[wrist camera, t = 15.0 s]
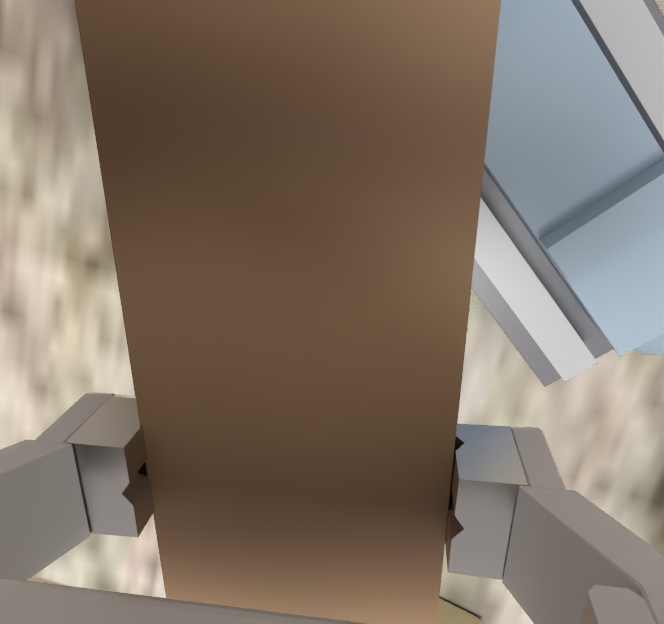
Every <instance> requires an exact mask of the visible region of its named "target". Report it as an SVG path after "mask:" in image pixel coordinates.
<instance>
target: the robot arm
mask: <svg viewBox="0 0 664 624" xmlns="http://www.w3.org/2000/svg"><path fill="white" fill-rule="evenodd" d="M146 459H147V452H146V445H145V439H144V432H143V425H140V423H139V416H138V410H137V403H136V397H135V396H127V395H115V394H108V393H86V394H85V395H84V396H82V397H81V398H80V399H79V400H78V401H77V402H76V403H75V404H74V405H73V406H72V407H70V408H69V409H68V410H67V411H66V412H65V413H64V414H63V415H62V416H61V417H60V418H59V419H57V420H56V421H55V422H54V423H53V424H52V425H51V426H50V427H49V428H48V429H47V430H45V431H44V432H43V433H42V434H41V435H40V436H39V437H38V438H37V439H36V440H24V441H22V442H19V443H17V444H14V445H12V446H9V447H6V448H4V449H1V450H0V624H368V623H360V622H352V621H344V620H336V619H328V618H320V617H313V616H305V615H297V614H289V613H281V612H272V611H264V610H256V609H248V608H240V607H232V606H224V605H216V604H208V603H200V602H192V601H184V600H176V599H167V598H159V597H151V596H143V595H135V594H127V593H119V592H111V591H103V590H95V589H87V588H79V587H71V586H64V585H56V584H47V583H39V582H31V581H27V580H28V579H29V578H31V577H32V576H34V575H35V574H37V573H38V572H40V571H41V570H42V569H44V568H45V567H47V566H48V565H49V564H51V563H52V562H54V561H55V560H57V559H58V558H59V557H61V556H62V555H64V554H65V553H67V552H68V551H69V550H71V549H72V548H74V547H75V546H77V545H78V544H79V543H81V542H82V541H84V540H85V539H87V538H88V537H89V536H90V533H93V534H106V535H118V536H130V537H139V535H140V533H141V532H142V530H143V528H144V527H145V525H146V524H147V522H148V520H149V519H150V517H151V515H152V514H153V512H154V511H155V510H154V502H153V495H152V487H151V480H150V479H149V478H148V475H147V469H146V462H145V461H146ZM445 544H446V555H447V566H448V572H451V573H458V574H465V575H472V576H479V577H486V578H494V579H501V580H503V584H504V585H505V586H506V588H507V589H508V590H509V591H510V593H511V594H512V595H513V597H514V598H515V599H516V601H517V602H518V603H519V604H520V606H521V607H522V608H523V610H524V611H525V612H526V614H527V615H528V616H529V617H530V619H531V620H532V621H533V623H534V624H664V555H662V554H661V553H660V552H658V551H657V550H656V549H654V548H653V547H652V546H650V545H649V544H647V543H646V542H645V541H643V540H642V539H641V538H639V537H638V536H637V535H635V534H634V533H632V532H631V531H630V530H628V529H627V528H626V527H624V526H623V525H622V524H620V523H619V522H617V521H616V520H615V519H613V518H612V517H611V516H609V515H608V514H607V513H605V512H604V511H602V510H601V509H600V508H598V507H597V506H596V505H594V504H593V503H592V502H590V501H589V500H587V499H586V498H585V497H583V496H582V495H581V494H579V493H578V492H577V491H573V490H566V488H565V485H564V483H563V480H562V478H561V476H560V473H559V471H558V468H557V466H556V463H555V461H554V458H553V456H552V453H551V451H550V448H549V446H548V444H547V441H546V439H545V436H544V434H543V431H542V430H541V429H539V428H531V427H505V426H487V425H470V424H457V429H456V439H455V448H454V458H453V467H452V477H451V487H450V496H449V506H448V516H447V527H446V536H445Z"/></svg>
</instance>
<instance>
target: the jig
mask: <svg viewBox="0 0 664 624" xmlns="http://www.w3.org/2000/svg"><path fill="white" fill-rule="evenodd" d="M571 1H572V3H573V4H574V6H575V8H576V9H577V11H578V13H579V14H580V16H581V18H582V19H583V21H584V23H585V24H586V26H587V27H588V29H589V31H590V32H591V34H592V36H593V37H594V39H595V41H596V42H597V44H598V46H599V47H600V49H601V51H602V52H603V54H604V56H605V57H606V59H607V61H608V62H609V64H610V65H611V67H612V69H613V70H614V72H615V74H616V75H617V77H618V79H619V80H620V82H621V84H622V85H623V87H624V89H625V90H626V92H627V94H628V95H629V97H630V98H631V100H632V102H633V103H634V105H635V107H636V108H637V110H638V112H639V113H640V115H641V117H642V118H643V120H644V122H645V123H646V125H647V127H648V128H649V130H650V132H651V133H652V135H653V136H654V138H655V140H656V141H657V143H658V145H659V146H660V148H661V150H662V151H663V153H664V16H663V14H662V12H661V11H660V9H659V7H658V5H657V4H656V2H655V0H571ZM471 288H472V290H473V291H474V292H475V294H476V295H477V296H478V298H479V299H480V300H481V302H482V303H483V304H484V306H485V307H486V308H487V310H488V311H489V312H490V314H491V315H492V316H493V318H494V319H495V320H496V322H497V323H498V325H499V326H500V327H501V329H502V330H503V331H504V333H505V334H506V335H507V337H508V338H509V339H510V341H511V342H512V343H513V345H514V346H515V347H516V349H517V350H518V351H519V353H520V354H521V355H522V357H523V358H524V359H525V361H526V362H527V363H528V365H529V366H530V367H531V369H532V370H533V371H534V373H535V374H536V376H537V377H538V378H539V380H540V381H541V382H542V384H543V385H544V386H545V387H546V386H547V385H549V384H551V383H553V382H555V381H556V380H558V379H560V378H562V379H563V380H564V381H566V380H568V379H570V378H571V377H573V376H575V375H577V374H579V373H581V372H582V371H584V370H586V369H588V368H590V367H591V366H593V365H595V364H597V363H598V362H597V361H596V360H595V359H596V358H598V357H600V356H601V355H603V354H605V353H607V352H609V351H610V350H612V349H613V347H612V346H611V345H610V344H609V342H608V341H607V340H606V339H605V337H604V336H603V335H602V334H601V332H600V331H599V330H598V329H597V327H596V326H595V325H594V324H593V322H592V321H591V320H590V319H589V317H588V316H587V315H586V313H585V312H584V310H583V309H582V307H581V306H580V305H579V303H578V302H577V300H576V299H575V297H574V296H573V295H572V293H571V292H570V290H569V289H568V287H567V286H566V284H565V283H564V282H563V280H562V279H561V277H560V276H559V274H558V273H557V272H556V270H555V269H554V267H553V266H552V264H551V263H550V261H549V260H548V259H547V257H546V256H545V254H544V253H543V251H542V250H541V249H540V247H539V246H538V244H537V243H536V241H535V240H534V238H533V237H532V236H531V234H530V233H529V231H528V230H527V228H526V227H525V226H524V224H523V223H522V221H521V220H520V218H519V217H518V216H517V214H516V213H515V211H514V210H513V208H512V207H511V205H510V204H509V203H508V201H507V200H506V198H505V197H504V195H503V194H502V193H501V191H500V190H499V188H498V187H497V185H496V184H495V182H494V181H493V180H492V178H491V177H490V175H489V174H488V172H487V171H486V170H485V168H484V170H483V179H482V189H481V199H480V208H479V218H478V227H477V237H476V247H475V256H474V266H473V275H472V285H471Z"/></svg>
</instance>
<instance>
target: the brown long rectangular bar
mask: <svg viewBox="0 0 664 624" xmlns="http://www.w3.org/2000/svg"><path fill="white" fill-rule="evenodd" d="M75 5H76V11H77V18H78V24H79V31H80V38H81V44H82V51H83V57H84V64H85V70H86V77H87V83H88V90H89V96H90V103H91V109H92V116H93V122H94V129H95V136H96V142H97V149H98V155H99V162H100V168H101V175H102V181H103V188H104V194H105V201H106V207H107V214H108V220H109V227H110V234H111V240H112V247H113V253H114V260H115V266H116V273H117V279H118V286H119V292H120V299H121V305H122V312H123V318H124V325H125V332H126V338H127V345H128V351H129V358H130V364H131V371H132V377H133V384H134V390H135V397H136V403H137V410H138V416H139V423H140V425H143V432H144V439H145V445H146V452H147V459H146V461H145V462H146V469H147V475H148V478H149V479H150V480H151V487H152V495H153V502H154V510H155V511H154V512H153V514H154V521H155V528H156V534H157V541H158V547H159V554H160V560H161V567H162V573H163V580H164V586H165V593H166V598H167V599H176V600H184V601H192V602H200V603H208V604H216V605H224V606H232V607H240V608H248V609H256V610H264V611H272V612H281V613H289V614H297V615H305V616H313V617H320V618H328V619H336V620H344V621H352V622H360V623H368V624H436V621H437V612H438V602H439V592H440V583H441V573H442V564H443V554H444V544H445V535H446V525H447V516H448V506H449V496H450V487H451V477H452V467H453V458H454V448H455V439H456V429H457V419H458V410H459V400H460V391H461V381H462V371H463V362H464V352H465V343H466V333H467V323H468V314H469V304H470V295H471V285H472V275H473V266H474V256H475V247H476V237H477V227H478V218H479V208H480V199H481V189H482V179H483V170H484V160H485V150H486V141H487V131H488V122H489V112H490V102H491V93H492V83H493V74H494V64H495V54H496V45H497V35H498V26H499V16H500V6H501V0H75Z"/></svg>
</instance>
